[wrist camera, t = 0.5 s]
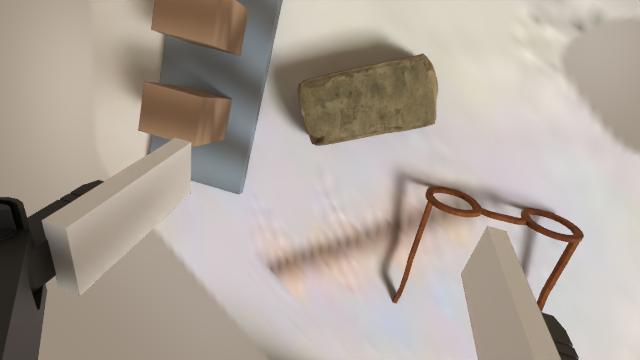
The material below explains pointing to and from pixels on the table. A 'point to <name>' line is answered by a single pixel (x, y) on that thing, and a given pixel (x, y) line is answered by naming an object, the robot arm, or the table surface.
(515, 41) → the table surface
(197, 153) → the bridge base
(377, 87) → the stone block
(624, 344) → the table surface
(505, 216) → the glasses
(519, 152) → the table surface
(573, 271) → the table surface
